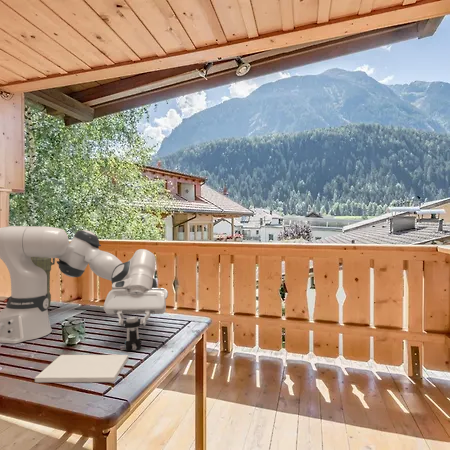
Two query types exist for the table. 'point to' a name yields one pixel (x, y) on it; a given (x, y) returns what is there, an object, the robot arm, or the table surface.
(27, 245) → the robot arm
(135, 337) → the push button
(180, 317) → the table surface
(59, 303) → the table surface
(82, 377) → the board
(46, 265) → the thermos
